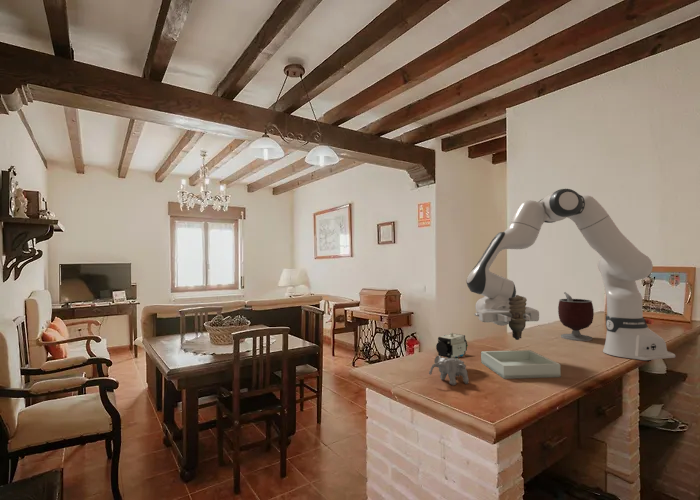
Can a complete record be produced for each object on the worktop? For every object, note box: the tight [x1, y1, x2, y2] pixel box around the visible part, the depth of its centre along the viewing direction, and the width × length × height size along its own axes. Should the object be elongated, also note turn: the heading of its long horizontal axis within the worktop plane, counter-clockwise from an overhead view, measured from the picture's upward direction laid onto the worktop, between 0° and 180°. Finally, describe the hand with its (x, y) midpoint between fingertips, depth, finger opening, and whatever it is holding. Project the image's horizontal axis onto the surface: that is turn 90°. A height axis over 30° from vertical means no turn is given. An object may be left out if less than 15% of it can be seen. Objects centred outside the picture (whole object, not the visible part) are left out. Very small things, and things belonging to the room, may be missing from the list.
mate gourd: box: [557, 291, 595, 342], centre depth 175 cm, size 16×14×20 cm
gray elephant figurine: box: [428, 355, 470, 386], centre depth 115 cm, size 9×12×8 cm
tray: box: [480, 349, 562, 380], centre depth 128 cm, size 18×18×4 cm
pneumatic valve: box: [435, 332, 468, 360], centre depth 130 cm, size 6×12×12 cm, turn 130°
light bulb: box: [508, 294, 527, 341], centre depth 128 cm, size 6×6×15 cm
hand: (518, 319), depth 127 cm, fingers closed on light bulb, 5 cm apart
